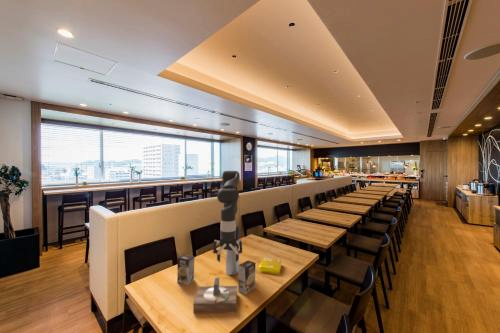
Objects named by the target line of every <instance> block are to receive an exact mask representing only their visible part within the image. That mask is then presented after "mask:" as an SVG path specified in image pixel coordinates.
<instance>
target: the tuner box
mask: <svg viewBox="0 0 500 333" xmlns="http://www.w3.org/2000/svg"><path fill="white" fill-rule="evenodd" d="M219 289H220V294H219V295H217V297H216V301H214V298H215V295H213V290H214V285H213V286H211V285H210V286H209V285H207V286H206V285H205V286H203V285H201V286H199V288H198V290H197V293H196V296H195V299H194V300H193V304H192V305H193V306H192V308H193V310H192V312H193V314H219V313H221V314H222V313H223V314H224V313H225V314H227V313H229V314H230V313H231V314H232V313H237V297H238V285H227V286H226V285H219Z"/></svg>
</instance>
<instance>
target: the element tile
mask: <svg viewBox="0 0 500 333" xmlns="http://www.w3.org/2000/svg"><path fill="white" fill-rule="evenodd" d="M282 263H283V262H282V260H281V259H278V258H277V259H275V258H270V257H269V258H267V257H263V258H262V259H261V260H260V263H259V265H258V272H260V273H263V272H265V274H270V273H273V274H272V275H276V274H278V275H280V274H279V273H281V271H280V270H282V267H281V266H283V264H282Z"/></svg>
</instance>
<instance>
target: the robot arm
mask: <svg viewBox="0 0 500 333" xmlns="http://www.w3.org/2000/svg"><path fill="white" fill-rule="evenodd" d="M221 174H222V175H221V178H222V181H221V182H222V187H221V188H219V190H218V191H217V195H216V197H217V201H218V202H219V203H220V204H223V207H222V208H221V210H220V228H219V230H220V238H219V240H217V239H214V241H213V251H212V254H215V255H216V260H217V261H218V263H220V262H221V253H222V251H223V250H224V251H225V252H226V253H225V274H227V275H228V276H235V275H239V265H240V254H243V239H240V233H241V232H240V229H241V228H240V226H239V225H236V224H237V223H236V214H237V212H238V202H239V197H240V193H239V191H238V189H237V187H238V186H239V184H240V181H241V177H240V171H238V170H223V171H222V173H221ZM218 245H220V247H219V248H218V249H217V247H218Z"/></svg>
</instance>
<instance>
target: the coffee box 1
mask: <svg viewBox="0 0 500 333" xmlns="http://www.w3.org/2000/svg"><path fill="white" fill-rule="evenodd" d="M194 281H195V256H194V255H189V254H184V253H183V254H182V255H179V256H178V257H177V283H180V284H183V285H190V284H192V283H193V282H194Z"/></svg>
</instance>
